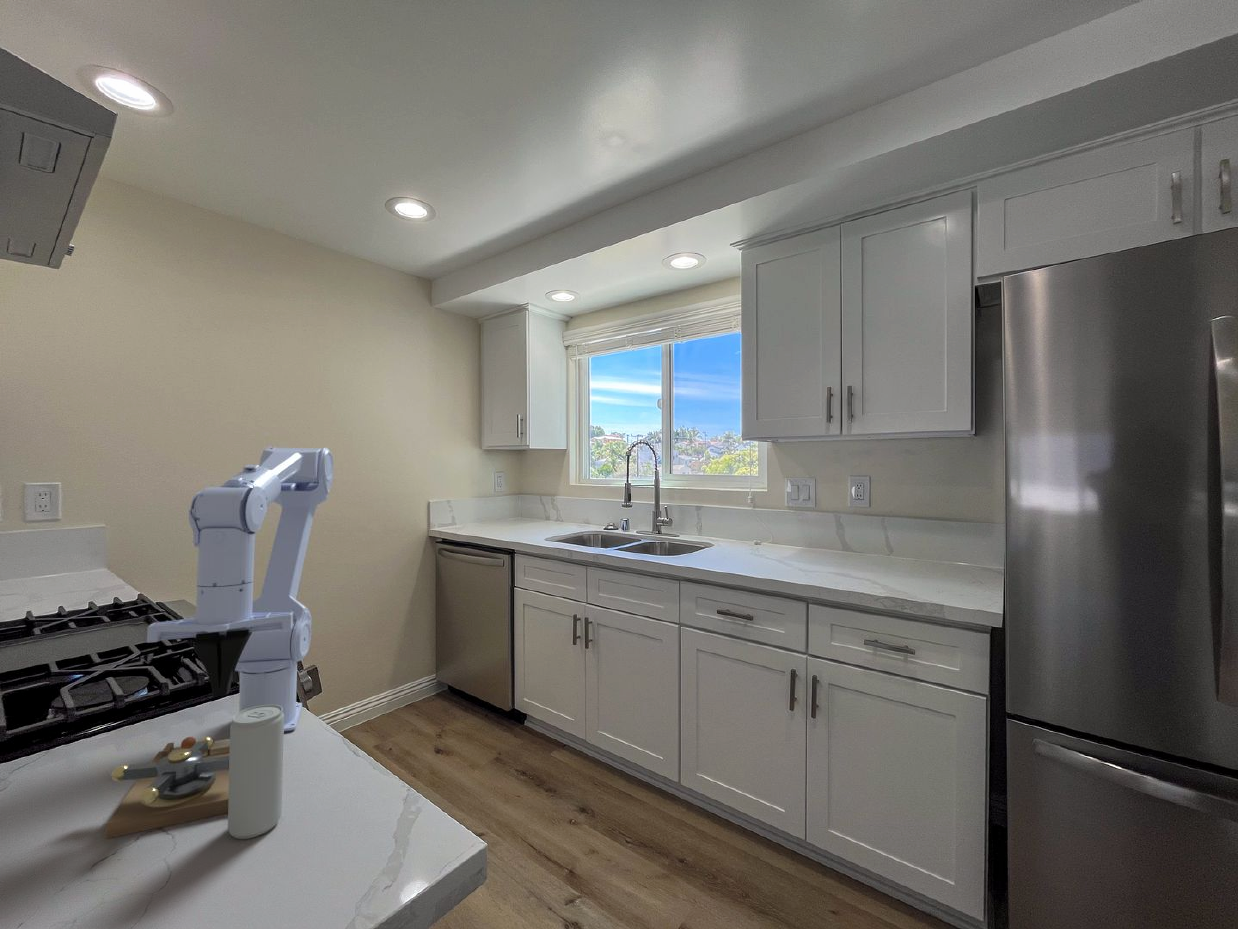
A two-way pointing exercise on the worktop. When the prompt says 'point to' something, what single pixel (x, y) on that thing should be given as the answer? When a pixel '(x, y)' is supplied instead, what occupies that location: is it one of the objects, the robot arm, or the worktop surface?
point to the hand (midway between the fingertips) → (221, 693)
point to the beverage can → (255, 771)
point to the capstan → (176, 773)
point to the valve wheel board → (170, 812)
